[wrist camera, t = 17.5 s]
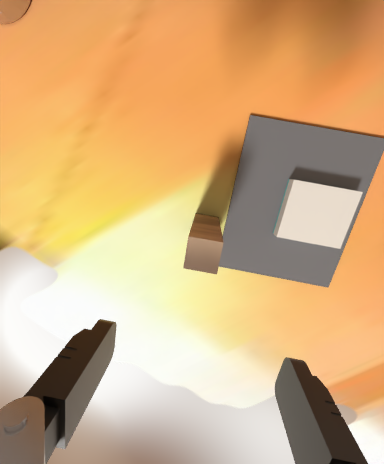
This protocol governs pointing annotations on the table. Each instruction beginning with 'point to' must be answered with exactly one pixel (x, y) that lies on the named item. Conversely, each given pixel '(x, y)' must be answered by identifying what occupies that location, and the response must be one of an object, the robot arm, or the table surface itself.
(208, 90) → the table surface
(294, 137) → the mat
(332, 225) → the tile
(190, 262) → the walnut stick
